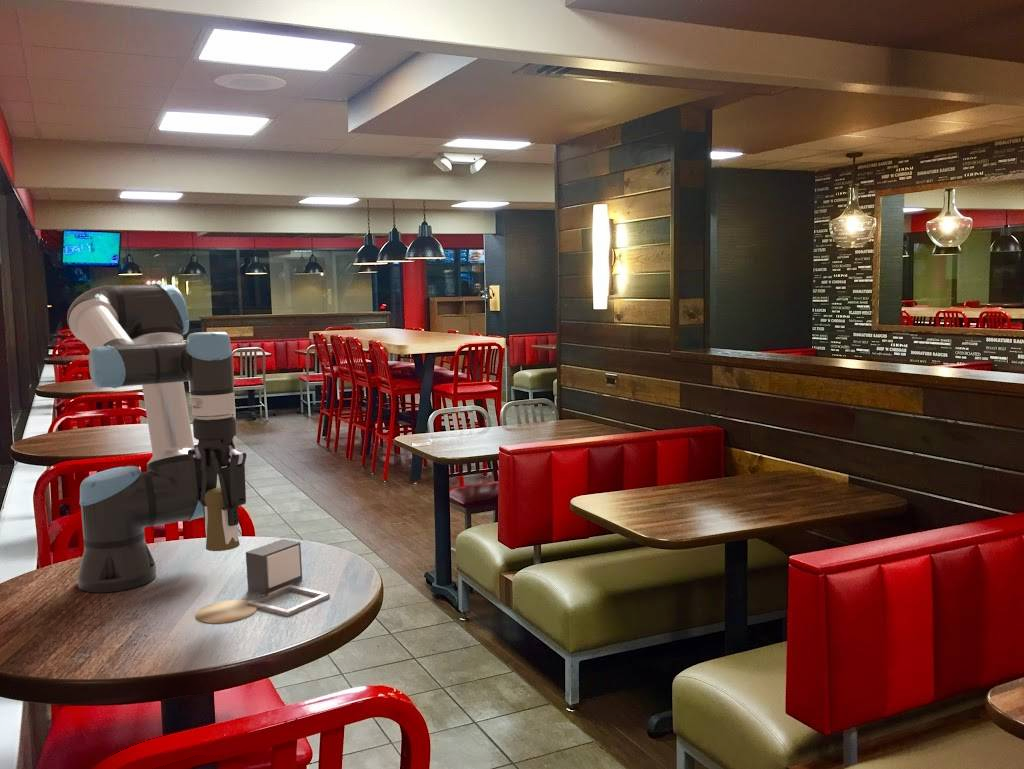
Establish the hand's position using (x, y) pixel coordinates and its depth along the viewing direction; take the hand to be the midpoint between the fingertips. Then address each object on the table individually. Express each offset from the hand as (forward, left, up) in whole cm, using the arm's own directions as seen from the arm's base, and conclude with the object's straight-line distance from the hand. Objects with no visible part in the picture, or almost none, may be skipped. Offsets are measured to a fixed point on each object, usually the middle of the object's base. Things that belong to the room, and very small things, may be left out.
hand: (222, 540), depth 165 cm
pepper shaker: (0, 0, -1) cm, 1 cm away
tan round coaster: (0, 0, -14) cm, 14 cm away
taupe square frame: (+6, +10, -14) cm, 18 cm away
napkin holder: (-3, +15, -14) cm, 21 cm away
